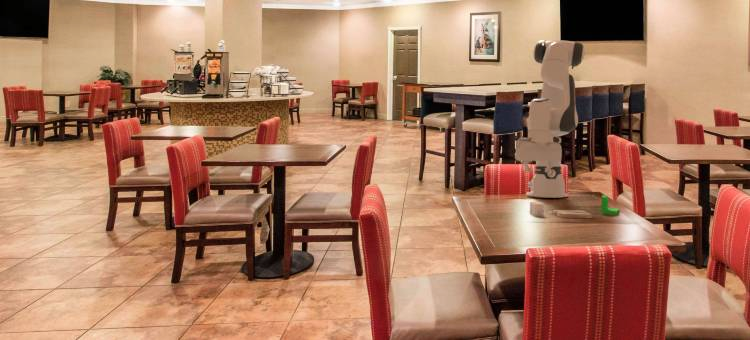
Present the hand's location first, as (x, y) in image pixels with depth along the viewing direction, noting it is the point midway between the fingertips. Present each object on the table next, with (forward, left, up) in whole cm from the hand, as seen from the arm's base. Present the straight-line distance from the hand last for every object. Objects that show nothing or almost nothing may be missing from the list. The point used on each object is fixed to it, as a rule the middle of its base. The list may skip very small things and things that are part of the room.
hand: (537, 172), depth 250 cm
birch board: (+1, +14, -17) cm, 22 cm away
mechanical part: (-8, +33, -18) cm, 38 cm away
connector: (0, 0, -18) cm, 18 cm away
